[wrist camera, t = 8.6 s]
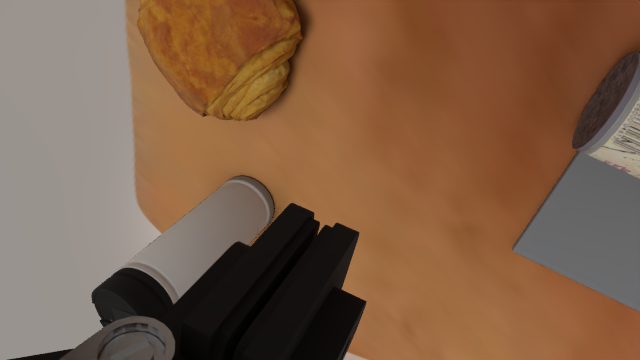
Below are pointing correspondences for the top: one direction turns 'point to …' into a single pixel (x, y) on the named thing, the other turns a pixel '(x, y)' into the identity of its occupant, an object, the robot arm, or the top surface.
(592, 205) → the mat
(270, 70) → the croissant
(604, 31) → the top surface
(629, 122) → the aerosol can
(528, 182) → the top surface
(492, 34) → the top surface
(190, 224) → the travel mug
